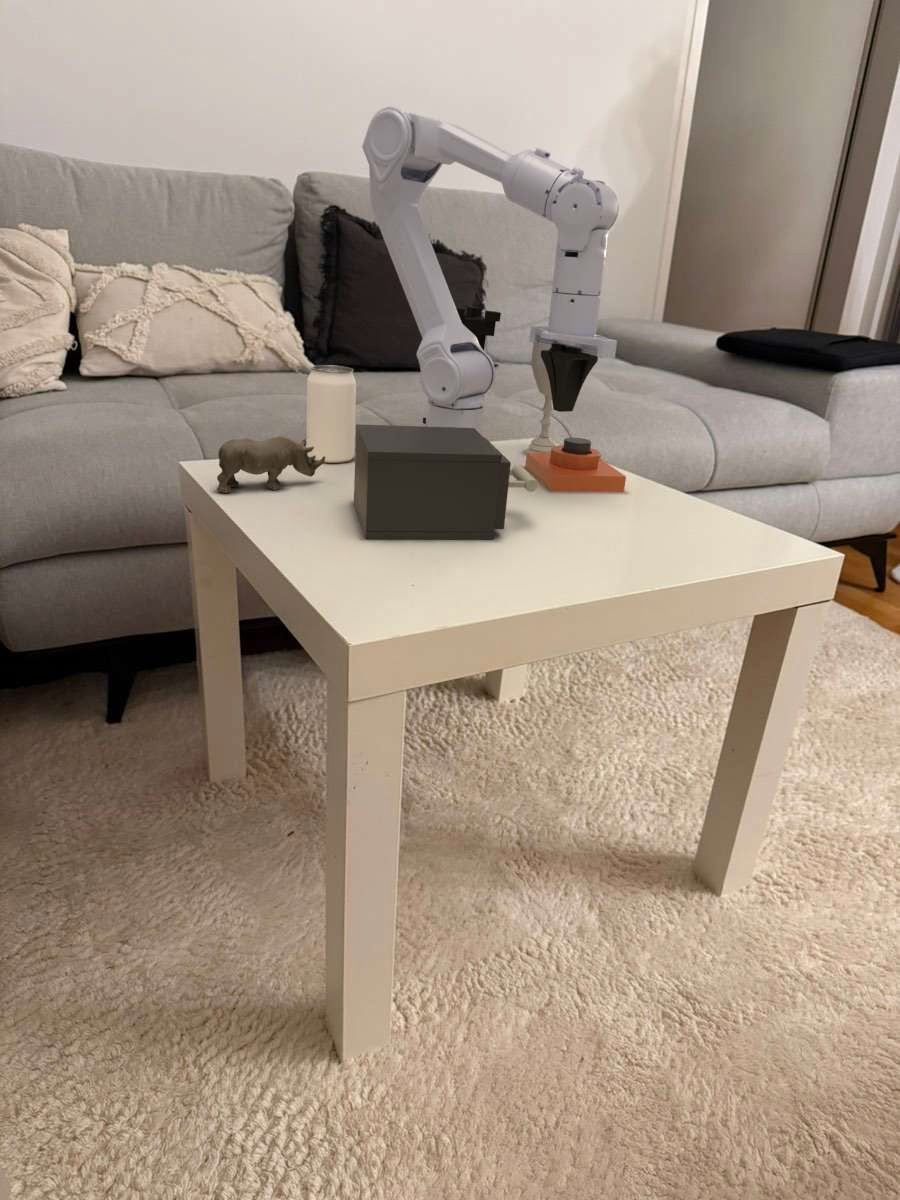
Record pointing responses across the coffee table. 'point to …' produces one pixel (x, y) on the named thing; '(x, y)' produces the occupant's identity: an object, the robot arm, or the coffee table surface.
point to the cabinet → (425, 482)
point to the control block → (574, 471)
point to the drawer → (504, 483)
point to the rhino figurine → (263, 460)
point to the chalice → (541, 377)
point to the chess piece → (478, 324)
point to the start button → (577, 446)
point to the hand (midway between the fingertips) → (563, 410)
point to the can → (331, 413)
